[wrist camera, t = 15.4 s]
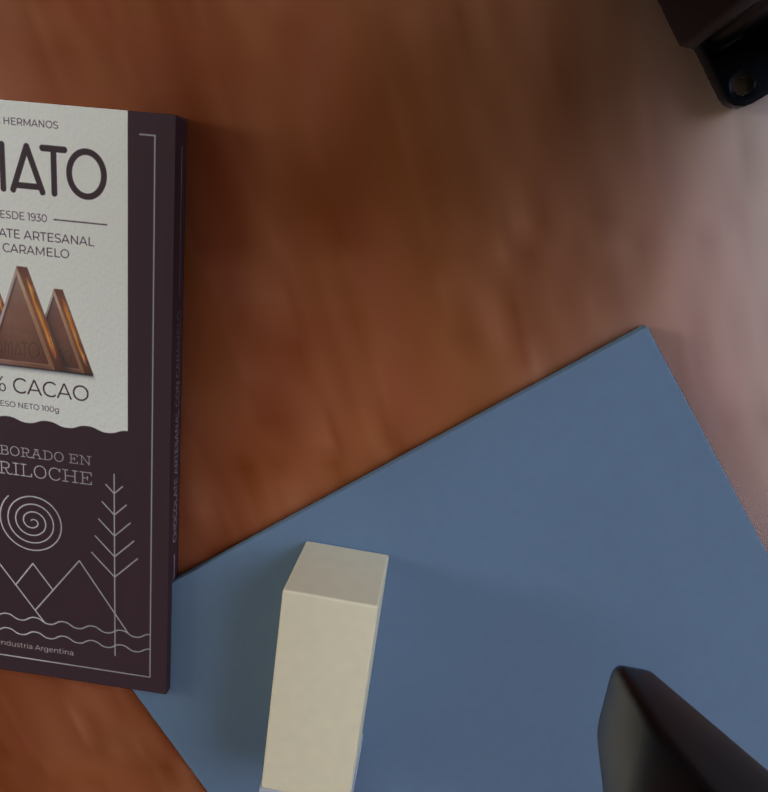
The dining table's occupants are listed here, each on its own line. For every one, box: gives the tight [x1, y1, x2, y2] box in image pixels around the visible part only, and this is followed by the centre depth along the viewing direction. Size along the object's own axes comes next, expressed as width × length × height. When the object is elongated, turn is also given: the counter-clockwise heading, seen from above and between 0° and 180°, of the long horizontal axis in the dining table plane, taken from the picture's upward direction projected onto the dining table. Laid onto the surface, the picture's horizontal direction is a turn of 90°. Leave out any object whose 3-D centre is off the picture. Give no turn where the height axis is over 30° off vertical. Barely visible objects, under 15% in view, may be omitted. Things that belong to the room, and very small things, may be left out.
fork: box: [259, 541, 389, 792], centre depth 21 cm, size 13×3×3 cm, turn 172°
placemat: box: [132, 325, 768, 792], centre depth 22 cm, size 20×16×1 cm
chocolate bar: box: [0, 100, 187, 694], centre depth 21 cm, size 9×1×18 cm
